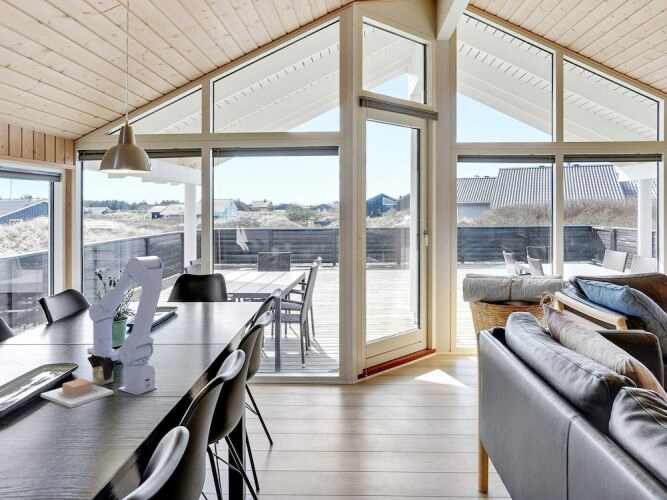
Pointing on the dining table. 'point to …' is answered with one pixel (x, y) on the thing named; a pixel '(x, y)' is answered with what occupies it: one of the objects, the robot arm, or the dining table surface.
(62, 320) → the dining table surface
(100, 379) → the maple block
